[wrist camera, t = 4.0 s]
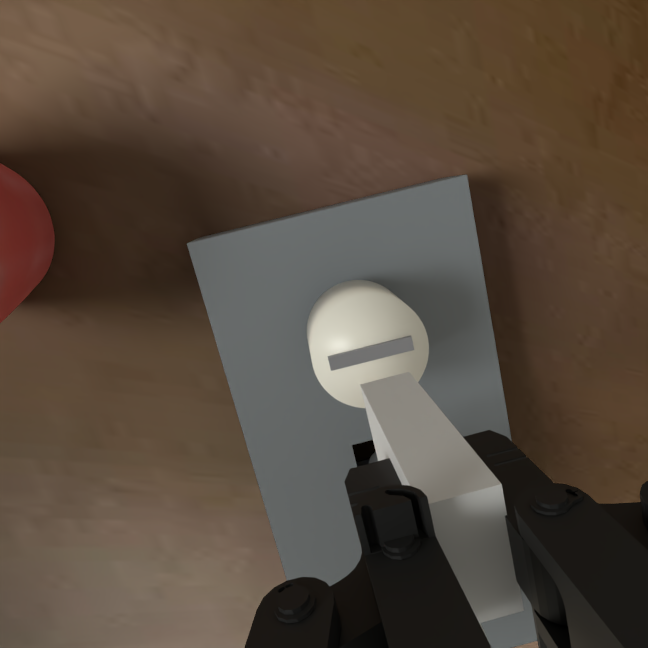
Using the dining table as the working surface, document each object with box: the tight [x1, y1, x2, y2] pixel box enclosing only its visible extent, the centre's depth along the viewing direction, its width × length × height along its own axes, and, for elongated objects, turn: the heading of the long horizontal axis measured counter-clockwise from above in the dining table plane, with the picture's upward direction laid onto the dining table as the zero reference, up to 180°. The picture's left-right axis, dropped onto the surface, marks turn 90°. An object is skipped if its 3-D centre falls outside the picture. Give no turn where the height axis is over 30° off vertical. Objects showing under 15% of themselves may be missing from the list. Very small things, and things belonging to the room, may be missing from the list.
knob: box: [307, 280, 429, 408], centre depth 26 cm, size 5×5×8 cm
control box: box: [187, 175, 538, 648], centre depth 31 cm, size 14×28×4 cm, turn 13°
